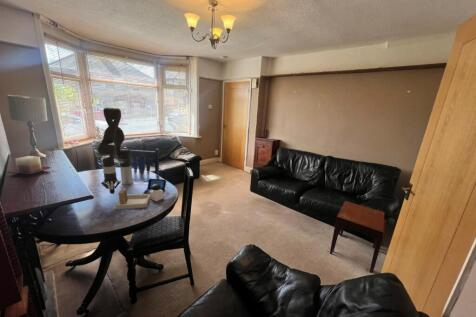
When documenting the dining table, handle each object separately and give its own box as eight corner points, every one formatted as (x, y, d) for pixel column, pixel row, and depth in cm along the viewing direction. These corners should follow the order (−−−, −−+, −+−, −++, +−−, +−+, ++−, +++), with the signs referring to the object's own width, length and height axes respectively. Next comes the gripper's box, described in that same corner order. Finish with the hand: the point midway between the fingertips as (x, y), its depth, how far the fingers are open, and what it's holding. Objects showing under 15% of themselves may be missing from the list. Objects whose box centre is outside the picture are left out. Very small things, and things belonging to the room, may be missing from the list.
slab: (123, 200, 157) (122, 188, 154) (127, 200, 158) (126, 188, 155) (120, 205, 150) (118, 193, 147) (124, 205, 150) (123, 192, 148)
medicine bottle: (163, 198, 165) (162, 184, 162) (156, 201, 159) (155, 187, 156) (157, 196, 168) (156, 182, 165) (150, 199, 162) (149, 185, 159)
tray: (123, 198, 161) (123, 194, 160) (150, 197, 166) (150, 193, 165) (115, 209, 145) (115, 205, 144) (146, 207, 150) (146, 203, 149)
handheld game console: (142, 194, 170) (142, 184, 168) (149, 188, 183) (149, 178, 181) (161, 195, 170) (160, 185, 168) (166, 188, 183) (166, 179, 181)
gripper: (121, 169, 150) (123, 191, 155) (101, 170, 147) (104, 191, 152) (118, 173, 143) (120, 195, 148) (97, 173, 140) (100, 196, 145)
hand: (112, 193), depth 150 cm, fingers closed
